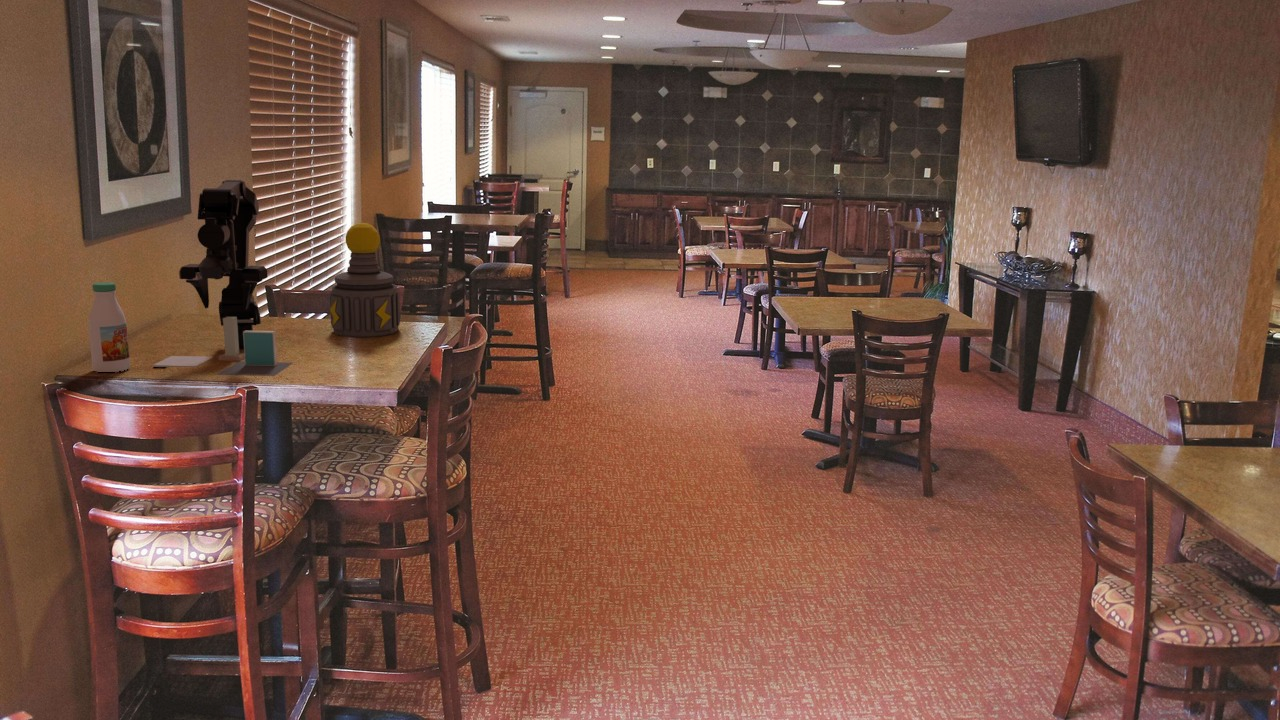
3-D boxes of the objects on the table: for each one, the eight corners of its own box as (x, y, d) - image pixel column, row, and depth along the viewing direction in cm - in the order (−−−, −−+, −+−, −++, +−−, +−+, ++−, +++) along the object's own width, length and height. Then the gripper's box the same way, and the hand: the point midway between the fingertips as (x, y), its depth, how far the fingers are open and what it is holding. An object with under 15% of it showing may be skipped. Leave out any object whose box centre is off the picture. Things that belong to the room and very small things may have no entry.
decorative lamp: (354, 341, 273) (349, 227, 267) (317, 330, 286) (312, 221, 279) (414, 332, 287) (411, 223, 280) (377, 322, 299) (373, 218, 293)
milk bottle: (89, 374, 232) (80, 286, 227) (96, 367, 239) (88, 281, 234) (127, 373, 234) (119, 285, 229) (133, 365, 241) (125, 280, 237)
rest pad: (171, 358, 249) (171, 355, 249) (213, 359, 249) (213, 356, 249) (152, 367, 239) (152, 365, 239) (196, 368, 239) (196, 366, 239)
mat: (238, 363, 245) (238, 361, 245) (293, 364, 245) (293, 362, 245) (216, 376, 233) (216, 374, 232) (274, 377, 233) (274, 375, 233)
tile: (247, 363, 243) (245, 330, 241) (277, 364, 243) (275, 331, 241) (244, 365, 241) (242, 331, 240) (274, 366, 241) (273, 332, 240)
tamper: (225, 358, 250) (222, 315, 248) (246, 359, 250) (243, 316, 248) (219, 362, 246) (216, 318, 244) (240, 362, 246) (237, 319, 244)
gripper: (165, 246, 233) (171, 314, 237) (248, 248, 233) (252, 316, 237) (187, 239, 244) (192, 305, 247) (266, 242, 244) (270, 307, 247)
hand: (226, 308), depth 244 cm, fingers open, 9 cm apart
